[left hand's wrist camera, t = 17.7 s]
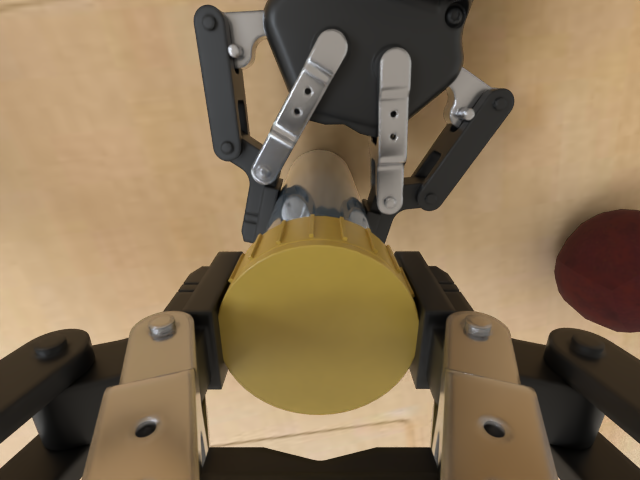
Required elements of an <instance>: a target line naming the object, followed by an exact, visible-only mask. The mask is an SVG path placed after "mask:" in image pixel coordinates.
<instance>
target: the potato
mask: <svg viewBox="0 0 640 480" xmlns="http://www.w3.org/2000/svg"><path fill="white" fill-rule="evenodd" d="M554 272H555V279H556V283H557V287H558V291H559V293H560V294H561V296H562V297H563V299H564V300H565V301H566V302H567V303H568V304H569V305H570V306H572V307H573V308H574V309H575V310H576V311H577V312H578V313H580V314H581V315H582V316H583V317H584V318H585V319H588V320H590V321H592V322H595V323H597V324H599V325H602V326H604V327H607V328H609V329H612V330H614V331H617V332H630V333H631V332H640V211H638V210H625V209H619V210H614V211H609V212H604V213H601V214H598V215H596V216H594V217H593V218H591V219H589V220H587V221H585V222H584V223H582V224H581V225H580V226H579V227H578V228H577V229H576V230H575V231H574V232H573V233H572V235H571V236H570V237H569V238H568V239H567V240H566V242H565V244H564V246H563V247H562V249H561V251H560V253H559V255H558V256H557V259H556V265H555V271H554Z"/></svg>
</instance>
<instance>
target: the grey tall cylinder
mask: <svg viewBox="0 0 640 480" xmlns="http://www.w3.org/2000/svg"><path fill="white" fill-rule="evenodd" d="M311 214H314V215H315V216H329V217H335V218H340V217H344V220H347V221H350V222H353V223H355V224H357V225H360V226H362V227H363V228H365V229H366V228H367V227H368V228H369V229H370V230H371V233H373V234H374V232H373V229H372V227H371V224H370V222H369V219H368V216H367V214H366V211H365V209H364V206H363V203H362V201H361V198H360V196H359V193H358V190H357V188H356V185H355V183H354V180H353V177H352V175H351V172H350V170H349V167H348V166H347V164H346V163H345V161H344V160H343V159H342V158H341V157H339V156H338V155H337V154H335V153H333V152H330V151H327V150H312V151H308V152H306V153H304V154H302V155H301V156H299V157H298V158H297V159H296V160H295V161H294V162H293V164H292V165H291V167H290V169H289V172H288V174H287V177H286V179H285V182H284V184H283V187H282V189H281V192H280V194H279V196H278V199H277V201H276V204H275V206H274V209H273V211H272V214H271V216H270V219H269V221H268V224H267V226H266V229H265V231H264V233H266V232H267V231H269V230H270V229H272V228H274V227H275V226H277V225H279V224H281V223H282V221H283V220H286V222H287V221H290V220H293V219H297V218H301V217H309V216H310V215H311Z"/></svg>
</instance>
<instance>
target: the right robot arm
mask: <svg viewBox="0 0 640 480" xmlns="http://www.w3.org/2000/svg"><path fill="white" fill-rule="evenodd" d="M472 2H473V0H268V1H267V3H266V5H265V8H264V10H261V11H243V12H226V13H224V12H221V11H220V10H218V9H217V8H216V7H214V6H212V5H204V6H201V7H200V8H199V9H198V10H197V11H196V13H195V15H194V27H195V33H196V40H197V46H198V53H199V59H200V65H201V72H202V78H203V85H204V91H205V97H206V104H207V110H208V117H209V123H210V129H211V136H212V142H213V148H214V152H215V154H216V155H217V156H218V157H219V158H220V159H221V160H224V161H230V162H232V163H233V164H235V165H237V166H238V167H240V168H241V169H243V170H244V171H245V172H246V174H247V175H248V177H249V181H250V187H249V192H248V198H247V204H246V209H245V215H244V221H243V226H242V235H243V239H244V241H245V242H250V243H254V242H255V241H256V239H257V236H258V235H259V234H260V233H261V234H262V235H263V234H264V231H265V229H266V226H267V224H268V221H269V219H270V216H271V214H272V211H273V209H274V206H275V204H276V201H277V199H278V196H279V194H280V192H281V187H282V182H283V179H280V178H279V177H280V172H281V169H282V167H283V165H284V164H285V162H286V160H287V158H288V156H289V155H290V153H291V151H292V149H293V148H294V146H295V144H296V142H297V141H298V139H299V137H300V135H301V134H302V132H303V130H304V128H305V126H306V125H307V123H308V121H309V120H310V121H314V122H317V123H321V124H325V125H328V124H344V125H346V126H348V127H350V128H352V129H353V130H355V131H357V132H358V133H360V134H364V135H368V136H369V153H370V194H369V197H368V200H366V199H363V200H362V203H363V206H364V209H365V211H366V214H367V216H368V219H369V222H370V224H371V227H372V229H373V232H374V235H375V236H376V237H378V238H379V239H380V240H381V241H382V242H383V243H384V244H385V241H386V238H387V235H388V232H389V229H390V226H391V223H392V221H393V218H394V217H395V216H396V214H398V213H399V212H400V211H402V210H405V209H414V208H422V209H423V210H426V211H433V210H435V209H437V208H439V207H440V206H441V204H442V203H443V202H444V200H445V199H446V198H447V196H448V195H449V194H450V192H451V191H452V190H453V188H454V187H455V186H456V184H457V183H458V181H459V180H460V179H461V177H462V176H463V175H464V173H465V172H466V171H467V169H468V168H469V167H470V165H471V164H472V163H473V161H474V160H475V159H476V157H477V156H478V155H479V153H480V152H481V151H482V149H483V148H484V147H485V145H486V144H487V143H488V141H489V140H490V139H491V137H492V136H493V135H494V133H495V132H496V130H497V129H498V128H499V126H500V125H501V124H502V122H503V121H504V120H505V118H506V117H507V116H508V114H509V113H510V112H511V110H512V108H513V106H514V97H513V94H512V93H511V92H510V91H509V90H507V89H502V88H492V87H490V86H489V85H487V84H486V83H484V82H483V81H482V80H480V79H479V78H477V77H476V76H475V75H473V74H472V73H470V72H469V71H468V70H466V69H465V68H463V67H462V66H463V59H464V56H463V48H462V34H463V27H464V24H465V21H466V18H467V15H468V13H469V10H470V8H471V5H472ZM264 39H267V40H268V42H269V45H270V47H271V50H272V52H273V54H274V57H275V59H276V62H277V64H278V67H279V69H280V72H281V74H282V77H283V79H284V82H285V84H286V87H287V89H288V91H289V95H288V97H287V99H286V101H285V102H284V104H283V106H282V108H281V110H280V112H279V114H278V116H277V118H276V120H275V121H274V123H273V125H272V128H271V130H270V132H269V134H268V136H267V138H266V140H265V142H264V144H263V145H262V144H261V143H259V142H258V141H256V140H255V139H253V138H252V137H250V132H249V124H248V115H247V107H246V98H245V90H244V81H243V72H242V69H247V68H249V67H250V66H251V65H252V64H253V63H254V60H255V51H256V47H257V45H258V44H259V43H260V42H261V41H262V40H264ZM444 90H446V91H447V94H448V102H447V105H446V107H445V109H444V113H443V115H444V119H445V121H446V122H447V123H448V124H447V125H446V127H445V128H444V130H443V131H442V132H441V134H440V135H439V137H438V138H437V140H436V141H435V143H434V144H433V146H432V147H431V148H430V150H429V151H428V153H427V154H426V156H425V157H424V159H423V160H422V161H421V163H420V164H419V166H418V167H417V169H416V170H415V172H414V173H413V174H412V176H411V177H407V178H404V165H405V163H406V158H407V133H408V120H409V119H410V118H411V117H412V116H414V115H415V114H416V113H417V112H419V111H420V110H421V109H422V108H423V107H425V106H426V105H427V104H428V103H429V102H431V101H432V100H433V99H434V98H436V97H437V96H438V95H439V94H440V93H442V92H443V91H444Z"/></svg>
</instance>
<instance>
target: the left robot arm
mask: <svg viewBox="0 0 640 480" xmlns="http://www.w3.org/2000/svg"><path fill="white" fill-rule="evenodd" d="M242 253H243V252H218V254H217V255H216V257H215V259H214V260H213V262H212V263H211V265H210V266H202V267H200V268H199V269H197V270H196V271H194V272H193V273H191V274H190V275H189V276H188V278H187V279H186V280H185V282H184V285H182V286H181V287H180V289H179V290H178V292H177V293H176V294H175V296H174V297H173V299H172V300H171V301H170V303H169V304H168V306H167V307H166V308H165V310H164V311H163V312H160V313H156V314H153V315H151V316H148V317H146V318H144V319H142V320H141V321H139V322H138V323H137V324H136V325H135V326H134V327H133V328H132V329H131V331H130V335H129V338H126V339H123V340H118V341H113V342H108V343H103V344H98V345H93V346H92V343H91V340H90V336H89V334H88V333H87V332H85V331H83V330H80V329H64V330H58V331H54V332H50V333H47V334H44V335H42V336H40V337H37V338H35V339H33V340H31V341H30V342H28V343H26V344H25V345H23V346H21V347H20V348H18V349H17V350H15V351H14V352H12V353H10V354H9V355H7V356H6V357H4V358H3V359H1V360H0V443H2V442H3V441H4V440H5V439H6V438H8V437H9V436H10V435H11V434H12V433H14V432H15V431H16V430H17V429H18V428H20V427H21V426H22V425H23V424H24V423H26V422H27V421H28V420H29V419H30V418H33V421H34V423H35V426H36V428H37V431H38V433H39V434H38V435H37V436H36V437H35V438H34V439H33V440H32V441H31V442H29V443H28V444H27V445H26V446H25V447H24V448H23V449H22V450H20V451H19V452H18V453H17V454H16V455H15V456H14V457H13V458H12V459H10V460H9V461H8V462H7V463H6V464H5V465H4V466H3V467H1V468H0V480H80V479H81V477H82V480H558V477H559V479H560V480H640V468H639V467H637V466H636V465H635V464H634V463H633V462H632V461H631V460H630V459H628V458H627V457H626V456H625V455H624V454H623V453H622V452H621V451H620V450H618V449H617V448H616V447H615V446H614V445H613V444H612V443H611V442H609V441H608V440H607V439H606V438H605V437H604V436H603V435H602V434H601V433H599V432H598V431H599V428H600V426H601V423H602V421H603V418H604V415H606V416H607V417H608V418H610V419H611V420H612V421H613V422H614V423H616V424H617V425H618V426H619V427H620V428H622V429H623V430H624V431H625V432H626V433H628V434H629V435H630V436H631V437H632V438H634V439H635V440H636V441H637V442H638V443H640V360H639V359H637V358H636V357H634V356H633V355H631V354H630V353H628V352H626V351H625V350H623V349H622V348H620V347H619V346H617V345H615V344H614V343H612V342H611V341H609V340H607V339H605V338H603V337H601V336H599V335H596V334H594V333H591V332H588V331H584V330H580V329H575V328H559V329H555V330H553V331H552V332H551V333H550V335H549V338H548V341H547V345H542V344H537V343H532V342H527V341H521V340H517V339H513V338H511V335H510V331H509V329H508V328H507V327H506V326H505V325H504V324H503V323H502V322H501V321H499V320H498V319H496V318H494V317H492V316H489V315H487V314H484V313H480V312H474V310H473V309H472V307H471V306H470V305H469V303H468V302H467V300H466V299H465V297H464V296H463V295H462V293H461V292H459V289H458V288H457V286H456V285H455V284H454V282H453V280H452V279H451V278H450V276H449V275H448V274H447V273H446V272H444V271H443V270H441V269H440V268H438V267H436V266H428V265H427V263H426V262H425V260H424V259H423V257H422V255H421V254H420V252H419V251H396V252H395V253H394V256H395V258H396V260H397V263H398V265H399V267H402V269H403V271H404V273H405V275H406V277H407V280H408V282H409V284H410V286H411V288H412V290H413V292H414V295H415V297H413V300H414V302H415V305H416V308H417V311H418V316H419V325H418V334H417V342H416V351H415V357H414V359H413V361H412V363H411V365H410V367H409V369H410V372H411V375H412V378H413V381H414V384H415V387H416V389H430V390H431V393H432V396H433V398H434V404H433V412H432V424H431V436H430V447H376V448H372V449H368V450H364V451H360V452H356V453H352V454H348V455H344V456H340V457H336V458H332V459H328V460H323V461H317V460H312V459H308V458H304V457H300V456H296V455H292V454H288V453H284V452H280V451H276V450H272V449H268V448H264V447H210V436H209V424H208V412H207V404H206V398H205V394H206V392H207V389H222V386H223V383H224V380H225V377H226V374H227V371H228V368H227V366H226V364H225V363H224V360H223V353H222V344H221V336H220V328H219V319H218V313H219V309H220V306H221V303H222V301H223V298H224V296H225V294H226V292H227V290H228V288H229V285H230V283H231V282H229V281H228V280H229V278H230V276H231V274H232V272H233V270H234V268H235V266H236V264H237V262H238V260H239V258H240V256H241V255H242ZM243 254H244V253H243Z"/></svg>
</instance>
